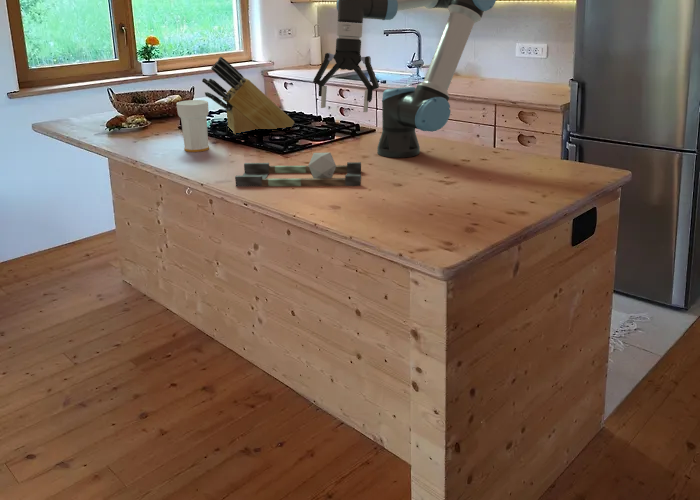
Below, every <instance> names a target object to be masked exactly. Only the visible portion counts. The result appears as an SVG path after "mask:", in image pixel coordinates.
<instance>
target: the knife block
mask: <svg viewBox="0 0 700 500" xmlns="http://www.w3.org/2000/svg"><path fill="white" fill-rule="evenodd" d="M210 69H211V70H212V71H213V72H214V73H215V74H216V75H217V76H218V77H219V78H220V79H222V80H223V81H224V82H225V83H226V84H227V85H229V86H230V87H231V88H229V90H226V89H225V88H224V87H222V85H221V84H219V83H218V82H217V81H216V80H215V79H212V78H209V79H206V78H204V77H203V78H202V80H201V81H202V83H204V84H205V85H206V86H207V87H208V88H209V89H211V90H212V91H213V92H215V93H216V94H217V95H218V96H220V97H222V99H220V98H219V97H218V96H216V95H215V94H212V93H211V92H204V95H205V97H207V98H209V99H211V100H212V101H213V102H215V103H216V104H217V105H219V106H220V107H222V108H224V109H226V118H227V127H229V128H230V129H231V130H232V131H233V134H234V135H236V133H241V132H245V131H250V130H255V129H277V128H286V127H291V128H292V127H293V126H294V124H295V121H294V120H293V119H292V118H291V117H290V116H289V115H288V114H287V113H286V112H284V110H282V109H281V108H280V107H279V106H278V105H277V104H276V103H275V102H274V101H273V100H272V99H270V98H269V97H268V96H267V95H266V94H265V93H264V92H263V91H262V90H261V89H260V88H258V87H257V86H256V85H255V84H254V83H253V82H252V81H251V80H249V79H248V78H245V76H243V75H242V73H240V72H239V70H238V69H236V68H235V67H234V66H233V65H232V64H231V63H230V62H229V61H227V60H226V59H225V58H224V57H222V56H220V57H219V58H218V60H217V61H216V62H215V63H214V64H213V65H212V66H211V67H210ZM229 128H228V129H229Z"/></svg>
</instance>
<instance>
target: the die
mask: <svg viewBox="0 0 700 500" xmlns="http://www.w3.org/2000/svg"><path fill="white" fill-rule="evenodd" d="M336 165H337V164H336V162H335V160H334V158H333V155H332V153H331V152H313V154H312V156H311V159H310V161H309V163H308V165H307V166H309V168H310V171H311V175H312V178H333V176H334V174H335V173H334V171H335V168H336Z"/></svg>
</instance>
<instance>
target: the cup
mask: <svg viewBox="0 0 700 500" xmlns="http://www.w3.org/2000/svg"><path fill="white" fill-rule="evenodd" d="M176 110H177V111H176V112H177V116H178V117H179V118H180V121H181V129H182V136H183V143H184V144H183V145H184V146H183V147H184V148H183V149H184V151H185V152H188V153H201V152H206V151H208V150H210V145H209V139H208V136H209V135H208V122H207V121H208V120H207V117H208V115H209V113H210V111H209V102H208V100H204V99H203V100H202V99H190V100H189V99H188V100H181V101H178V102H176Z"/></svg>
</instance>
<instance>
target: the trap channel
mask: <svg viewBox="0 0 700 500" xmlns="http://www.w3.org/2000/svg"><path fill="white" fill-rule="evenodd" d="M243 167H244V168H243V169H244V171H243V172H244V173H243V174H242V175H235V176H234V181H235V187H360V186H361V179H362V162H361V161H360V162H357V161H356V162H355V161H353V162H351V161H349V162H347V163H346V164H345V165H341V164H339V165H337V164H336V168H335V171H334V173H333V174H335V173H336V174H337V173H340V174H341V173H343V174H345V173H346V174H345V175H344V177H342V178H341V177H339V178H338V177H337V178H335V177H332V178H313V177H311V178H310V177H309V178H308V177H307V178H297V177H296V178H294V177H293V178H292V177H290V178H289V177H288V178H282V177H281V178H280V177H279V178H268V176H269V174H296V173H297V174H303V173H304V174H306V173H307V174H310V173H311V171H310V168H309V166H308V165H270V162H244V163H243ZM311 174H312V173H311Z"/></svg>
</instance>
